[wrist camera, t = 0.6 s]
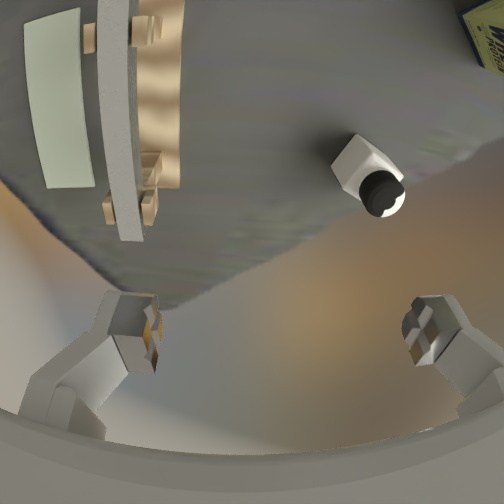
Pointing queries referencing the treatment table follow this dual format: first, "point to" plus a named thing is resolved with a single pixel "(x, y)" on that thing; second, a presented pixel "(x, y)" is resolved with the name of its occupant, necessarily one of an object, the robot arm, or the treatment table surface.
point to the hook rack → (154, 97)
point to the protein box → (486, 33)
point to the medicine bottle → (369, 177)
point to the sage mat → (58, 99)
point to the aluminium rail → (121, 113)
